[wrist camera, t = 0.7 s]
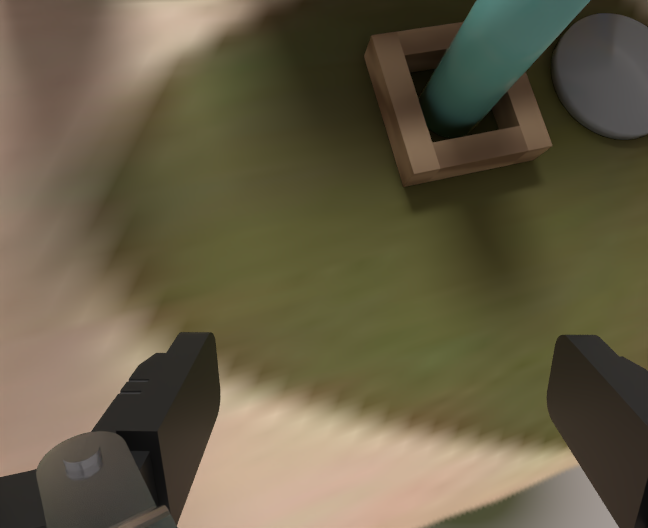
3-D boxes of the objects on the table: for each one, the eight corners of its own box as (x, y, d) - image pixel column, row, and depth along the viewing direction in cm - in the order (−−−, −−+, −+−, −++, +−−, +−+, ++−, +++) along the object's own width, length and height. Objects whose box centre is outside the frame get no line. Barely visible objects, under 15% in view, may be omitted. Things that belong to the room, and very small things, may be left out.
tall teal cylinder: (410, 84, 38) (506, -91, 24) (468, 75, 39) (594, -99, 24) (428, 143, 37) (539, -1, 23) (487, 131, 38) (630, -14, 24)
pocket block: (363, 56, 38) (371, 35, 36) (490, 37, 40) (505, 15, 38) (403, 187, 36) (414, 174, 34) (533, 159, 38) (552, 145, 36)
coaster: (533, 30, 41) (539, 22, 40) (643, 13, 43) (652, 5, 42) (577, 150, 39) (586, 145, 38) (691, 127, 41) (701, 121, 40)
